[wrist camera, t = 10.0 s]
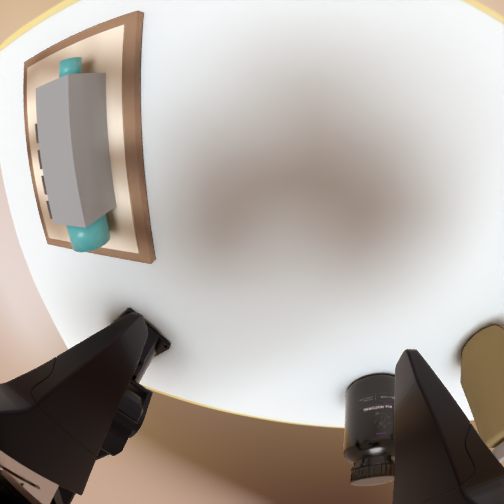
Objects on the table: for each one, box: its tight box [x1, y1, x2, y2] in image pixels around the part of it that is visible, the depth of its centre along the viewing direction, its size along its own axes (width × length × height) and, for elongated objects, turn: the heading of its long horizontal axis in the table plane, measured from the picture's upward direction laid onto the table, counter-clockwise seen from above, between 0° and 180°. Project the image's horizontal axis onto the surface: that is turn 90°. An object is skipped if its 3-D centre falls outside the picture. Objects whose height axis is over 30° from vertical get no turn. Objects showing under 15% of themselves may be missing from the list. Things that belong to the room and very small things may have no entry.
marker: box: [36, 57, 117, 252], centre depth 17 cm, size 15×4×4 cm, turn 178°
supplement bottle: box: [343, 374, 395, 486], centre depth 22 cm, size 7×7×12 cm
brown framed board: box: [24, 11, 155, 264], centre depth 19 cm, size 21×15×1 cm
